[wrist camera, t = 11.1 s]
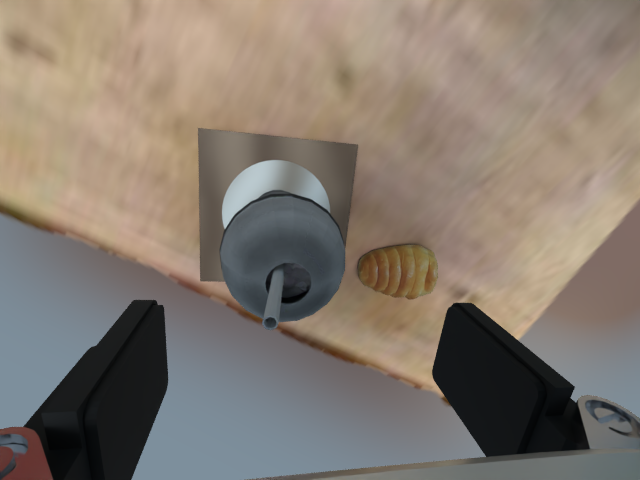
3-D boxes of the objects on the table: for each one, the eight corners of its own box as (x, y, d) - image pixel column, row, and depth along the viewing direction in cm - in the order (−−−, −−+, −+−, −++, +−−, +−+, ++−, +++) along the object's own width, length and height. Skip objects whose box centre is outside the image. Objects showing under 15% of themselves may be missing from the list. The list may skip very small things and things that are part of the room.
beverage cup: (280, 265, 30) (302, 462, 12) (220, 216, 28) (126, 361, 9) (331, 211, 30) (445, 328, 11) (274, 156, 27) (293, 183, 9)
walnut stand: (344, 144, 33) (359, 144, 28) (331, 265, 37) (341, 284, 32) (208, 130, 31) (197, 127, 26) (208, 262, 35) (199, 282, 30)
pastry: (352, 290, 39) (361, 305, 36) (359, 239, 37) (370, 249, 34) (420, 291, 41) (435, 306, 37) (430, 243, 39) (447, 253, 36)
